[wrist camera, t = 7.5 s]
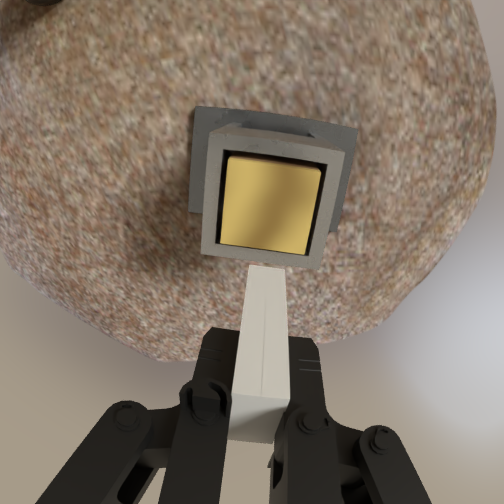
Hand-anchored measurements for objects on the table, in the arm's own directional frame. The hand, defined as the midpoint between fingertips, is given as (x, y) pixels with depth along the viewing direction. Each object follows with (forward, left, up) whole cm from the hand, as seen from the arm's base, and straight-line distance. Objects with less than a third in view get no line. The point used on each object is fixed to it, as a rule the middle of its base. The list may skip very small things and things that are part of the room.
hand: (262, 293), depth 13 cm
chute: (0, 0, -28) cm, 28 cm away
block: (0, 0, -26) cm, 26 cm away
